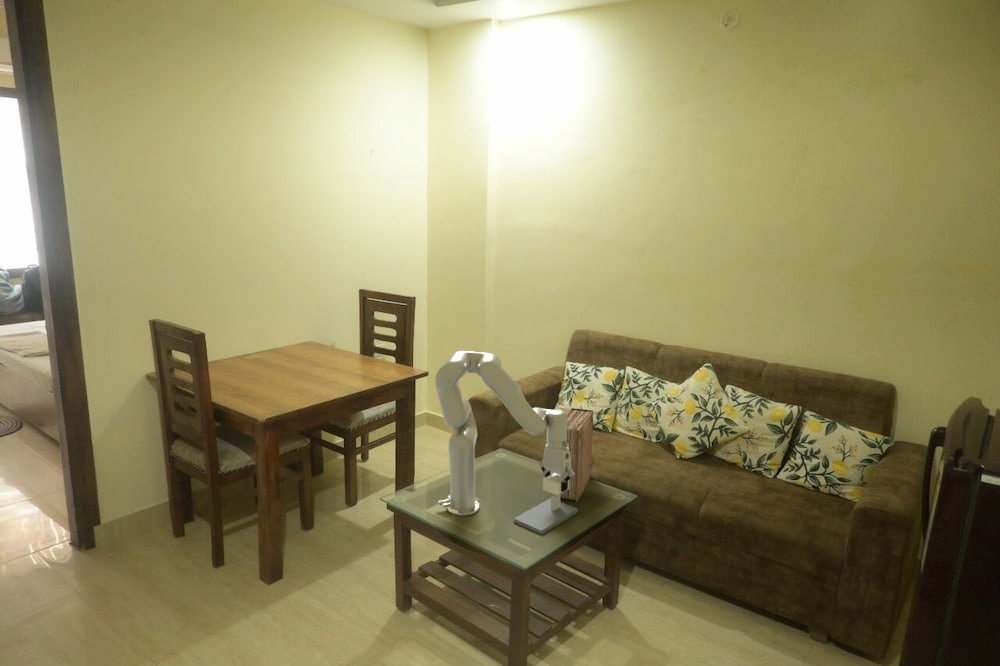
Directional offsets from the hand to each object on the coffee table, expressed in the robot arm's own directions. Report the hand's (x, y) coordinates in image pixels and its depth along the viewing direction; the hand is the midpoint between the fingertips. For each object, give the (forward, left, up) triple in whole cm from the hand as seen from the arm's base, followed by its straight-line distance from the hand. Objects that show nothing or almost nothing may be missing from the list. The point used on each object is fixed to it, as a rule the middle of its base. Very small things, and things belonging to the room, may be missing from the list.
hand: (556, 487), depth 232 cm
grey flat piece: (-5, -3, -10) cm, 12 cm away
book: (+15, +17, -10) cm, 25 cm away
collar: (0, 0, -1) cm, 1 cm away
